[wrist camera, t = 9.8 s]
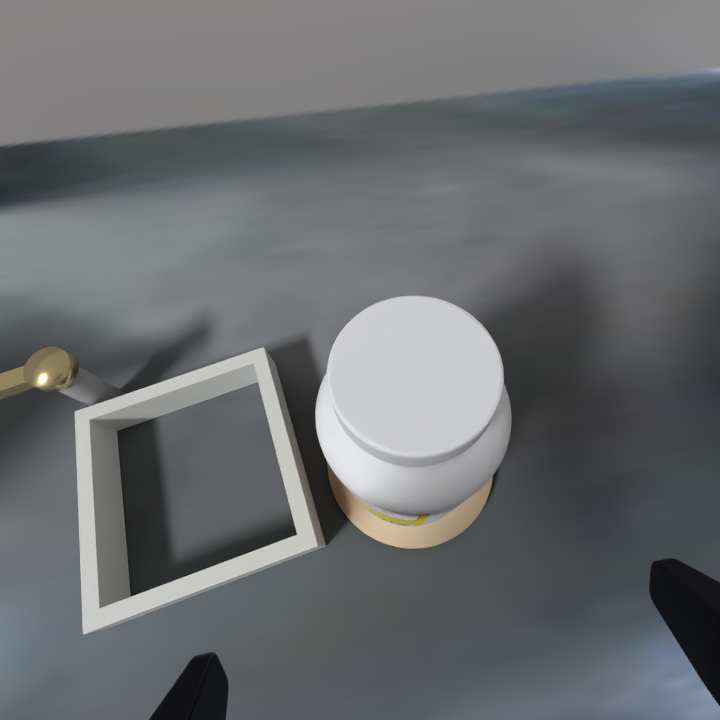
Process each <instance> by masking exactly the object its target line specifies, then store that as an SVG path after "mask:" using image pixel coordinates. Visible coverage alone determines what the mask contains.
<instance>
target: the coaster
mask: <svg viewBox="0 0 720 720" xmlns="http://www.w3.org/2000/svg"><path fill="white" fill-rule="evenodd" d="M327 468H328V476H329V481H330V485H331V489H332V491H333V494H334V496H335V499H336V501H337V502H338V504H339V506H340V508H341V509H342V511H343V512H344V513H345V515H346V516H347V517H348V519H349V520H350V521H351V522H352V523H353V524H354V525H355V526H356V527H357V528H359V529H360V530H361V531H363V532H364V533H365V534H367V535H368V536H370V537H372V538H374V539H375V540H378V541H380V542H382V543H385V544H388V545H391V546H395V547H401V548H425V547H431V546H435V545H438V544H441V543H444V542H446V541H448V540H450V539H452V538H454V537H456V536H457V535H458V534H460V533H461V532H463V531H464V530H465V529H466V528H467V527H468V526H469V525H470V524H471V523H472V522H473V521H474V520H475V519H476V517H477V516H478V515H479V514H480V512H481V510H482V508H483V507H484V505H485V503H486V500H487V498H488V495H489V493H490V489H491V485H492V478H493V476H492V477H491V479H490V480H489V481H488V482H487V483H486V484H485V485H484V486H483V487H482V488H481V489H480V490H479V491H477V492H476V493H475V494H474V495H472V496H471V497H469V498H468V499H466V500H465V501H464V502H463V503H461V504H460V505H459V506H458V507H457V508H455V509H454V510H453V511H451V512H450V513H449V514H447V515H446V516H444V517H443V518H441V519H439V520H437V521H435V522H432V523H429V524H426V525H421V526H400V525H396V524H392V523H389V522H386V521H384V520H382V519H380V518H378V517H376V516H375V515H373V514H372V513H371V512H369V511H368V510H367V509H366V508H365V507H364V506H362V504H361V503H360V502H359V501H358V500H357V499H356V498H355V497H354V495H353V494H352V493H351V492H350V491H349V490H348V488H347V487H346V486H345V485H344V484H343V483H342V482H341V481H340V480H339V478H338V477H337V476H336V475H335V473H334V472H333V470H332V469H331V467H330V465H329V464H328V462H327Z"/></svg>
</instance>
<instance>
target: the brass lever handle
mask: <svg viewBox="0 0 720 720" xmlns="http://www.w3.org/2000/svg"><path fill="white" fill-rule="evenodd" d="M78 371H79V363H78V360H77V359H76V358H75V357H74V356H73V355H71V354H69V353H68V352H66V351H64V350H62V349H61V348H59V347H55V346H50V347H45V348H42V349H40V350H38V351H37V352H35V353H34V354H33V355H32V356H31V357H30V358H29V359H28V361H27V362H26V364H25V366H22V367H19V368H16V369H13V370H10V371H7V372H4V373H1V374H0V400H1V399H4V398H6V397H9V396H12V395H15V394H18V393H21V392H24V391H27V390H30V389H33V388H38V389H40V390H42V391H45V392H48V393H55V392H59V391H61V390H63V389H65V388H66V387H68V386H69V385H70V384H71V383H72V382H73V381H74V379H75V378H76V376H77V374H78Z"/></svg>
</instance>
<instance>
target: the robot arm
mask: <svg viewBox="0 0 720 720" xmlns="http://www.w3.org/2000/svg"><path fill="white" fill-rule="evenodd" d="M649 592H650V596H651V599H652V601H653V603H654V605H655V606H656V608H657V610H658V611H659V613H660V614H661V616H662V618H663V619H664V621H665V622H666V624H667V626H668V627H669V629H670V630H671V632H672V634H673V635H674V637H675V638H676V640H677V642H678V643H679V645H680V647H681V648H682V650H683V651H684V653H685V655H686V656H687V658H688V659H689V661H690V663H691V664H692V666H693V667H694V669H695V671H696V672H697V674H698V675H699V677H700V678H701V680H702V681H703V683H704V684H705V686H706V687H707V689H708V690H709V692H710V693H711V695H712V696H713V697H714V699H715V700H716V702H717V703H718V704H719V706H720V582H718V581H716V580H714V579H712V578H710V577H709V576H707V575H705V574H703V573H701V572H699V571H698V570H696V569H694V568H692V567H690V566H688V565H686V564H685V563H683V562H681V561H679V560H676V559H673V558H668V559H663V560H658V561H654V562H653V563H652V564H651V571H650V585H649ZM227 700H228V679H227V676H226V674H225V672H224V669H223V667H222V665H221V663H220V661H219V658H218V656H217V655H216V654H215V653H214V652H210V653H205V654H200V655H197V656H195V657H193V658H192V659H191V661H190V662H189V663H188V665H187V666H186V668H185V669H184V670H183V672H182V673H181V675H180V676H179V678H178V679H177V680H176V682H175V683H174V685H173V686H172V688H171V689H170V690H169V692H168V693H167V695H166V696H165V698H164V699H163V700H162V702H161V703H160V705H159V706H158V708H157V709H156V710H155V712H154V713H153V715H152V716H151V718H150V719H149V720H226V710H227Z"/></svg>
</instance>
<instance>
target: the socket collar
mask: <svg viewBox="0 0 720 720" xmlns="http://www.w3.org/2000/svg"><path fill="white" fill-rule="evenodd" d="M257 382H259V386H260V390H261V394H262V398H263V402H264V406H265V410H266V414H267V418H268V422H269V426H270V430H271V434H272V438H273V441H274V445H275V449H276V453H277V457H278V461H279V465H280V469H281V473H282V477H283V481H284V485H285V489H286V493H287V497H288V501H289V505H290V509H291V513H292V516H293V520H294V524H295V528H296V532H297V535H295V536H292V537H290V538H287V539H284V540H282V541H279V542H276V543H273V544H271V545H268V546H265V547H263V548H260V549H257V550H255V551H252V552H249V553H247V554H244V555H241V556H239V557H236V558H233V559H231V560H228V561H225V562H223V563H220V564H217V565H215V566H212V567H209V568H207V569H204V570H201V571H199V572H196V573H193V574H190V575H188V576H185V577H182V578H180V579H177V580H174V581H172V582H169V583H166V584H164V585H161V586H158V587H156V588H153V589H150V590H148V591H145V592H142V593H140V594H137V595H134V596H132V597H131V593H130V581H129V569H128V557H127V545H126V533H125V521H124V509H123V497H122V485H121V473H120V461H119V449H118V437H117V431H119V430H122V429H124V428H127V427H130V426H133V425H136V424H139V423H142V422H145V421H148V420H150V419H153V418H156V417H159V416H162V415H165V414H168V413H171V412H173V411H176V410H179V409H182V408H185V407H188V406H191V405H194V404H197V403H199V402H202V401H205V400H208V399H211V398H214V397H217V396H220V395H222V394H225V393H228V392H231V391H234V390H237V389H240V388H243V387H246V386H248V385H251V384H254V383H257ZM59 392H61V393H63V394H65V395H68V396H70V397H72V398H74V399H76V400H78V401H81V402H83V403H85V404H87V405H89V406H90V407H87V408H84V409H81V410H78V411H75V432H76V458H77V485H78V512H79V538H80V565H81V591H82V618H83V634H86V633H90V632H94V631H97V630H101V629H105V628H108V627H112V626H116V625H119V624H121V623H124V622H127V621H129V620H132V619H135V618H137V617H140V616H143V615H145V614H148V613H150V612H153V611H156V610H158V609H161V608H164V607H166V606H169V605H172V604H174V603H177V602H180V601H182V600H185V599H188V598H190V597H193V596H196V595H198V594H201V593H204V592H206V591H209V590H212V589H214V588H217V587H219V586H222V585H225V584H227V583H230V582H233V581H235V580H238V579H241V578H243V577H246V576H249V575H251V574H254V573H257V572H259V571H262V570H265V569H267V568H270V567H273V566H275V565H278V564H280V563H283V562H286V561H288V560H291V559H294V558H296V557H299V556H302V555H304V554H307V553H310V552H312V551H315V550H318V549H320V548H323V547H326V544H325V540H324V537H323V533H322V529H321V526H320V522H319V519H318V515H317V511H316V508H315V504H314V501H313V497H312V494H311V490H310V486H309V483H308V479H307V476H306V472H305V468H304V465H303V461H302V458H301V454H300V451H299V447H298V443H297V440H296V436H295V433H294V429H293V425H292V422H291V418H290V415H289V411H288V408H287V404H286V400H285V397H284V393H283V390H282V386H281V382H280V379H279V375H278V372H277V368H276V364H275V363H274V361H273V360H272V358H271V357H270V355H269V354H268V352H267V351H266V349H265V348H264V347H262V348H259V349H256V350H253V351H250V352H248V353H245V354H242V355H239V356H236V357H233V358H230V359H227V360H224V361H221V362H218V363H215V364H212V365H210V366H207V367H204V368H201V369H198V370H195V371H192V372H189V373H186V374H183V375H180V376H177V377H174V378H171V379H169V380H166V381H163V382H160V383H157V384H154V385H151V386H148V387H145V388H142V389H139V390H136V391H133V392H130V393H128V394H127V393H125V392H123V391H121V390H120V389H118V388H116V387H114V386H113V385H111V384H109V383H107V382H106V381H104V380H102V379H100V378H99V377H97V376H95V375H93V374H92V373H90V372H88V371H86V370H84V369H83V368H81V367H79V371H78V374H77V376H76V378H75V379H74V381H73V382H72V383H71V384H70V385H69V386H68V387H66V388H65V389H63V390H61V391H59Z"/></svg>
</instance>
